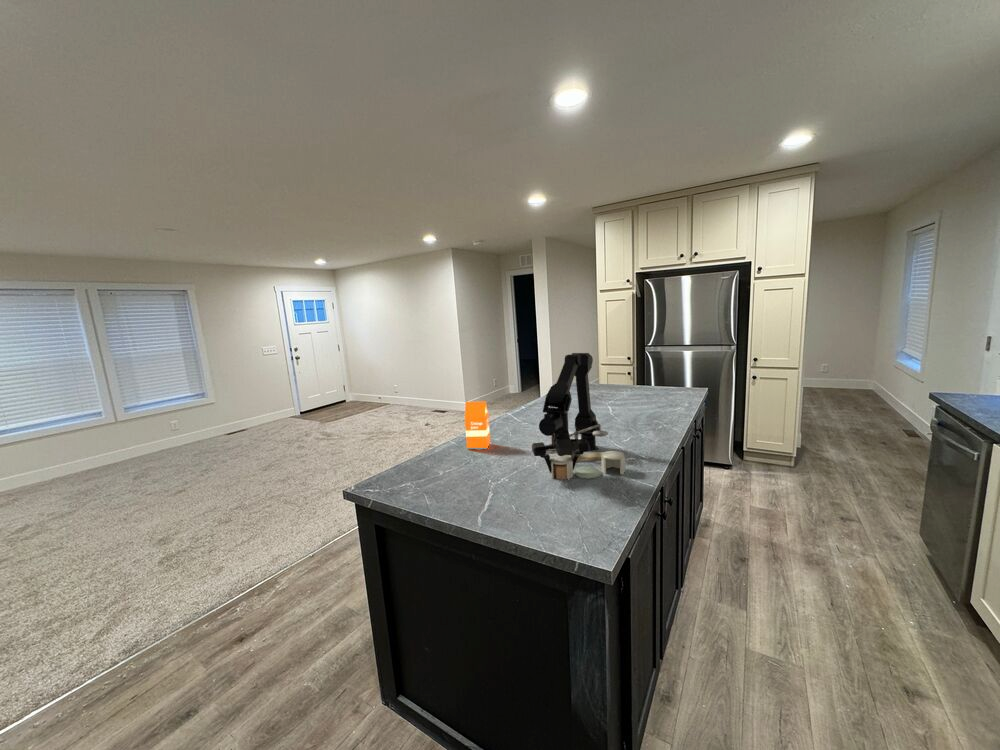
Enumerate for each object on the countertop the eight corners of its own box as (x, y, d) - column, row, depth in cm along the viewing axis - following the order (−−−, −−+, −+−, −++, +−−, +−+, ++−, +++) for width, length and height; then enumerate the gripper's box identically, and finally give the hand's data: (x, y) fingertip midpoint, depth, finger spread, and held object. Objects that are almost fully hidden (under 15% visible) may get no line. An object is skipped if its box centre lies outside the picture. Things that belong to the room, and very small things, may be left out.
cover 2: (599, 468, 141) (599, 451, 140) (619, 466, 141) (619, 450, 140) (606, 476, 133) (606, 459, 132) (627, 474, 134) (627, 457, 133)
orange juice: (470, 444, 176) (467, 399, 173) (490, 444, 174) (487, 399, 171) (467, 450, 168) (463, 404, 165) (487, 450, 167) (484, 403, 164)
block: (554, 474, 138) (554, 463, 137) (565, 473, 138) (565, 462, 138) (557, 479, 134) (556, 467, 133) (568, 478, 134) (568, 466, 134)
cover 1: (549, 472, 139) (548, 456, 138) (569, 471, 140) (568, 454, 139) (553, 481, 132) (552, 464, 131) (574, 479, 133) (574, 462, 132)
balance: (547, 465, 146) (545, 430, 144) (544, 459, 152) (542, 426, 150) (610, 459, 148) (610, 425, 146) (605, 454, 153) (604, 421, 151)
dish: (572, 469, 141) (572, 467, 140) (595, 467, 141) (595, 465, 141) (578, 479, 132) (578, 477, 132) (604, 477, 133) (604, 475, 133)
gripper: (536, 436, 125) (538, 483, 127) (594, 431, 126) (595, 478, 128) (530, 426, 136) (532, 470, 138) (584, 422, 137) (585, 465, 139)
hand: (561, 471), depth 136 cm, fingers closed on cover 1, 7 cm apart
